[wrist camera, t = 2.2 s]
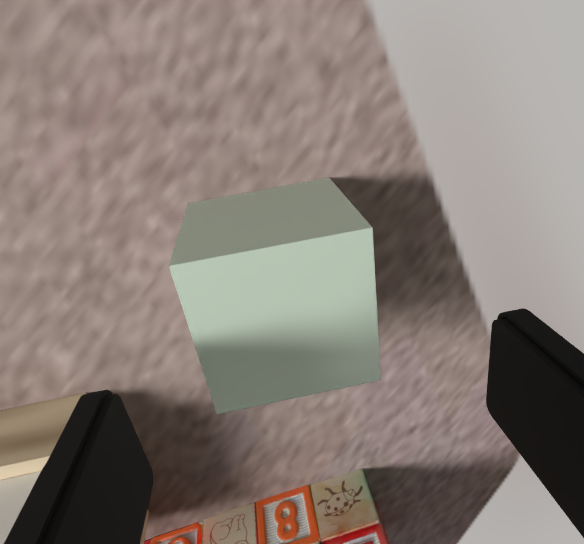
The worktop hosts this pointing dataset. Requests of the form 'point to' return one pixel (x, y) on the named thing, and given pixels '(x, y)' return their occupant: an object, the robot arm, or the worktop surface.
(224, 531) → the stack of blocks
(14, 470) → the tower base
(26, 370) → the worktop surface
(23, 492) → the tower top
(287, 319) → the sage cube
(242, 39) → the worktop surface
